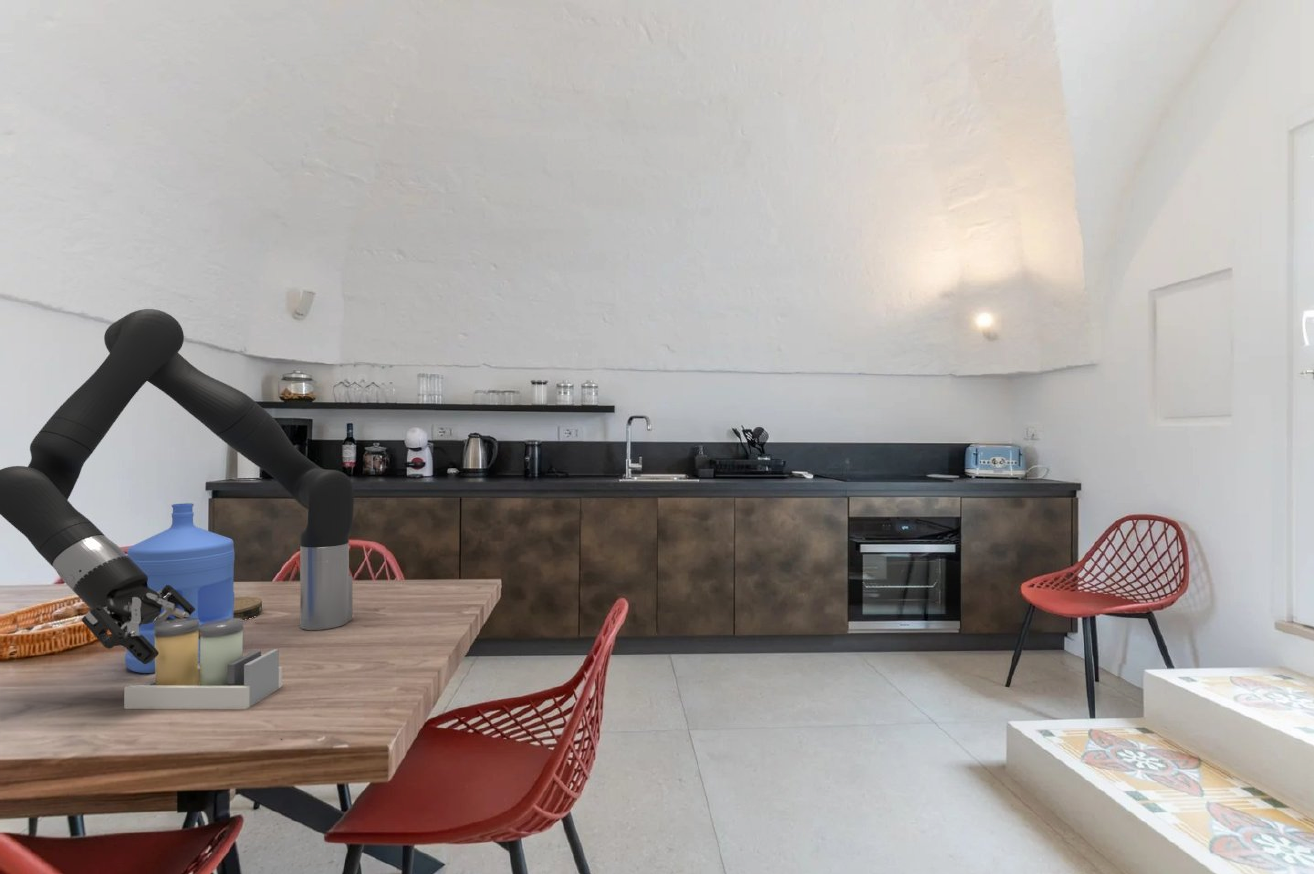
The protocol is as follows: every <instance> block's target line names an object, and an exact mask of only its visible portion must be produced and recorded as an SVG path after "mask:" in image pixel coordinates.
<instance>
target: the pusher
mask: <svg viewBox="0 0 1314 874" xmlns="http://www.w3.org/2000/svg"><path fill="white" fill-rule="evenodd" d="M260 656H262V650H254V651H252V652H250V653H247V654H245V655H243V657H241V658H239V659H237V660H236V661H234V662H232V663H230V664H228V669H227V686H244V665H245V664H247V663H249V662H251V661H252V660H254V659H256V658H258V657H260Z"/></svg>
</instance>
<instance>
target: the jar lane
mask: <svg viewBox="0 0 1314 874" xmlns="http://www.w3.org/2000/svg"><path fill="white" fill-rule="evenodd" d="M279 657H280V650H279V649H277V648H276V649H272V650H270V651H268V652H266V653H263V654H261V656H260V657H258V658H256V659H254V660H252V661H251V662H249V663H247V664H245V665H244V686H200V666H199V686H179V685H155V679H154V680H152V681H149V682H148V683H145V684H143V685H139V684H138V685H136V684H129V685H126V686H125V687H124V690H123V693H124V695H123V696H124V701H123V702H124V703H123V706H124V707H123V708H124V709H125V710H130V709H131V710H247V709H249V708H250V707H252V706H253V705H255V704H257V703H258V702H260V701H261V700H262V699H264V698H266V697H267V696H269V695H271V694H272V693H273V692H275V691H278V689H280V688H281V687H283V667H282V666H280V661H279V660H280V659H279Z"/></svg>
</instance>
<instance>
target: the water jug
mask: <svg viewBox="0 0 1314 874" xmlns="http://www.w3.org/2000/svg"><path fill="white" fill-rule="evenodd" d="M171 507H172V513H171V519H172V520H171V522H172V523H171V525H170V527H169V528H167V529H165V530H163V531H161V532H158V533H156V534H155V535H154V534H153V535H152V536H150V537H148V538H146V539H144V540H142V541H140V542H137V543H136V544H134V545H131V546H130V547H128V549H127V553H126V555H127V556H128V557H129V558H130V559H131V560H132V561H133V562H134V563H135V564H136V565H137V566H138V567H139V568H140V569H141V570H142V571H143V572H144V573H145V574H146V575H147V577H148V581H147V585H148V587H149V588H150V589H152V590H154V591H156V592H157V591H160V590H162V589H163V588H164V587H165V586H166V585H170V586H172V587H173V588H174V589H175V590H176V591H177V592H178V593H179V594H180V595H181V596H182V597H183V598H184V599H186V600H187V601H188V602H189V603H190V604H191V605H192V606H193V607H194V608H195V611H194V612H193V613H192V614H191V615H190V616H189V618H197V619H199V629H200V625H201V624H203V623H206V622H210V621H214V620H219V619H228V618H233V606H234V597H235V592H234V580H235V579H234V578H235V577H234V572H235V571H234V570H235V569H234V563H235V559H236V558H235V556H236V555H235V547H234V540H233V539H232V538H231V537H230V538H229V537H228V536H224V535H221V534H218V533H215V532H212V531H210V530H207V529H204V528H201V527H198V526H196V525H195V524H194V514H195V513H194V511H193V510H194V509H193V507H194V503H190V502H189V503H186V502H185V503H174V504H171ZM178 609H180V610H183V611H184V609H183V608H182V607H181V606H180V605H179V606H178ZM165 610H166V609H163V608H161V613H160V614H162V613H163V612H164V611H165ZM160 614H159V615H160ZM169 617H170V618H172V619H176V618H175V617H174V616H173V615H170V616H169ZM154 625H156V624H155V623H152V622H151V623H148V624H142V625H140V626H139V635H138V636H140V635H143V636H144V637H145V638H146V639H147V640H148V641H149V642H150V643H151V644H152V645H153V646H154V647H155V635H154ZM124 660H125V666H126V668H127V669H128V670H129V671H132V672H135V673H140V674H141V673H142V674H155V659H154V660H153V661H152V662H150V663H147V664H143V663H142V662H141V661H139V660H137V659H136V658H135V657H134V656H133V654H132V653H131V652H130V651H129V650H128V649H127V648H126V653H125V656H124ZM199 663H200V639H199Z"/></svg>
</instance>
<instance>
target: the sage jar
mask: <svg viewBox="0 0 1314 874" xmlns="http://www.w3.org/2000/svg"><path fill="white" fill-rule="evenodd" d="M243 630H244V621H243V619H240V618H228V619H219V620H214V621H210V622H206V623H203V624H201V625H200V662H199V664H200V665H199V667H200V686H227V669H228V664H230V663H232V662H234V661H236V660H237V659H239V658H241V657H243V656H244V655H243V654H244V653H243V651H244V650H243V649H244V647H243V640H244V637H243V636H244V635H243V634H244V633H243V632H244V631H243Z"/></svg>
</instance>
